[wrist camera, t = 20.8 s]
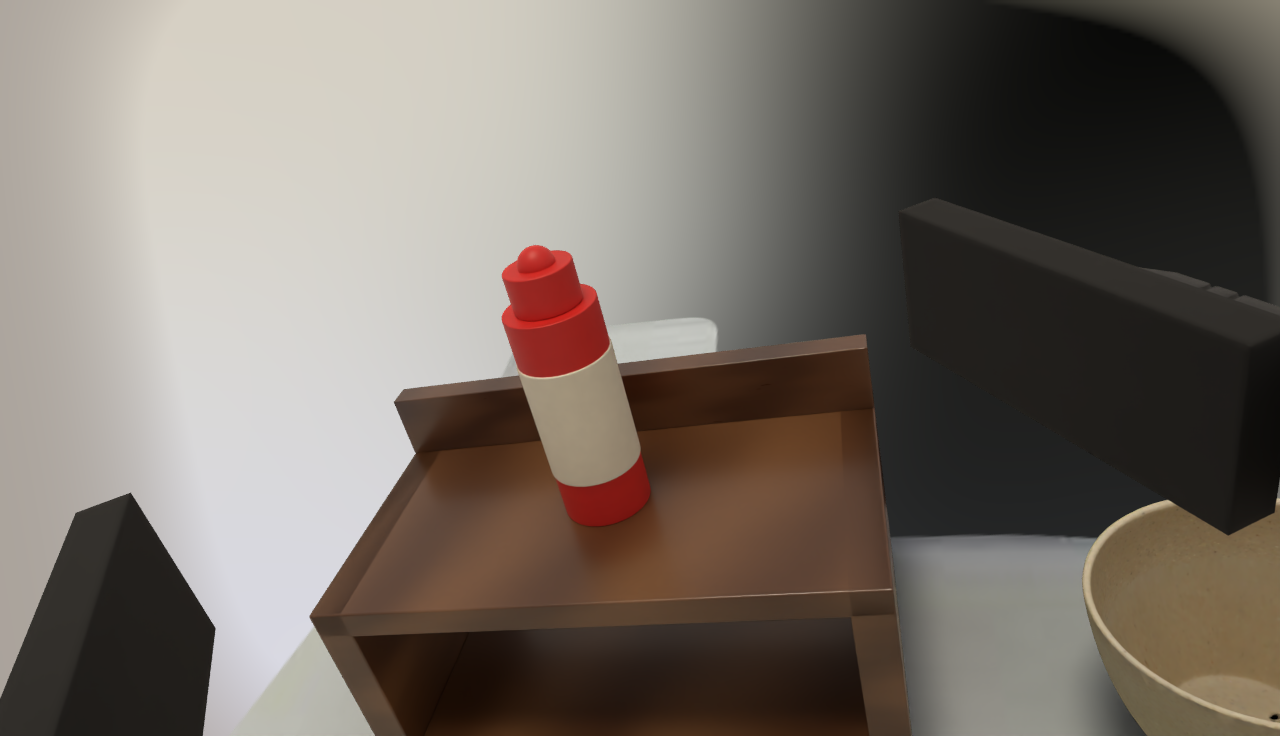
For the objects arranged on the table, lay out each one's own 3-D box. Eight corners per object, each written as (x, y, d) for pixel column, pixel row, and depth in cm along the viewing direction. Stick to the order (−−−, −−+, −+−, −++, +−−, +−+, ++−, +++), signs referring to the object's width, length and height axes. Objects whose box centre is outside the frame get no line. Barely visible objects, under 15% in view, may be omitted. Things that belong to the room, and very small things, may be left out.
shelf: (390, 765, 38) (275, 558, 33) (479, 572, 48) (403, 388, 43) (915, 768, 33) (884, 517, 27) (891, 549, 43) (865, 333, 37)
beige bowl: (1102, 610, 37) (1106, 473, 33) (1417, 677, 31) (1459, 521, 28) (1058, 815, 30) (1057, 669, 27) (1450, 948, 24) (1511, 784, 21)
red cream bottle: (555, 530, 35) (465, 276, 30) (576, 474, 38) (498, 235, 33) (644, 524, 34) (567, 260, 29) (658, 467, 37) (591, 219, 32)
